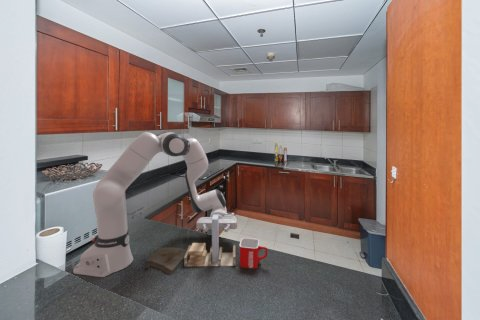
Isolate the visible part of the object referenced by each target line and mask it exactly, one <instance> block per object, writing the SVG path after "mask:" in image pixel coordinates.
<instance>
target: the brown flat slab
mask: <svg viewBox="0 0 480 320" xmlns="http://www.w3.org/2000/svg"><path fill="white" fill-rule="evenodd" d="M186 252H187V250H186V249H183V248H181V247H179V248H178V247H176V246H174V247H173V246H170V247H169V246H168V247H159V248H158V249H156V251H155V252H154V253H153V254H152V255H151V256H150V257H148V259H146V261H145V267H146V268H147V269H149V267H152V268H155V269H159V270H161V271H163V272H164V273H166V274H167V275H170V276H171V275H173V274H174V273H175V272H176V270H177V269H178V268H179V267H180V265H181V264H182V263H183V262H184V257H185V254H186Z"/></svg>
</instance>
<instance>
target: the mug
mask: <svg viewBox="0 0 480 320" xmlns="http://www.w3.org/2000/svg"><path fill="white" fill-rule="evenodd" d="M261 250H264V251H265V253H264V255H262V256H259V254H260V253H259V252H260V251H261ZM267 257H268V248H267V247H266V246H260V240H259V239H258V238H253V237H252V238H250V237H242V238H241V239H240V242H239V267H241V268H245V269H247V268H248V269H257V268H258V265H259V262H260V261H261V260H263V259H265V258H267Z"/></svg>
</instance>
